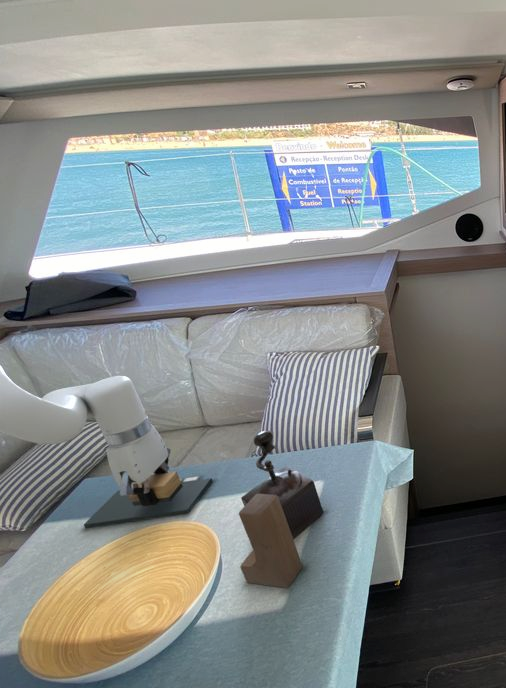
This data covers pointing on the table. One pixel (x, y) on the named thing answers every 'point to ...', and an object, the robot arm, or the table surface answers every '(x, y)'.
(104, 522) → the slate board
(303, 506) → the manual coffee grinder
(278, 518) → the wooden block
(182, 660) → the table surface
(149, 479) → the eraser
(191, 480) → the chalk mark
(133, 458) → the robot arm
